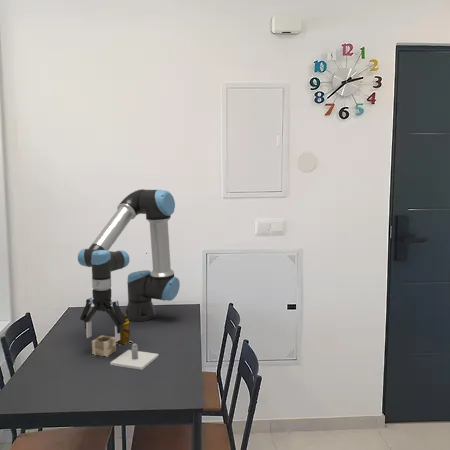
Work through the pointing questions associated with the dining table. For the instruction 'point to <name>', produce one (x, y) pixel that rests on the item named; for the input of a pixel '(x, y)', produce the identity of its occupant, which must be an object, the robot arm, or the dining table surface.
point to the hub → (134, 358)
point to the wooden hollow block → (103, 345)
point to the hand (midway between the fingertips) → (103, 338)
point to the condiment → (125, 332)
